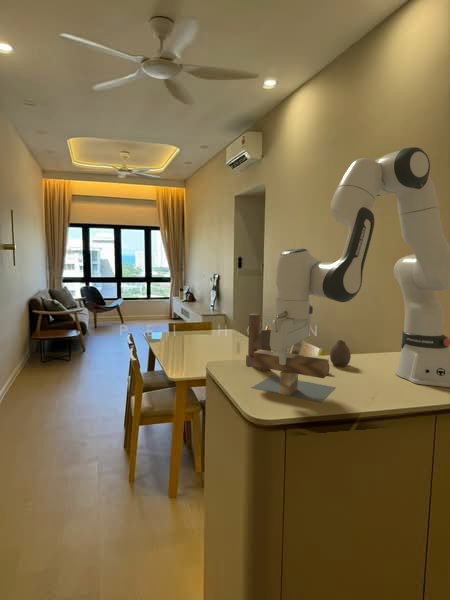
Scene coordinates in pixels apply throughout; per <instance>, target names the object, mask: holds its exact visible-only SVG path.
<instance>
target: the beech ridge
mask: <svg viewBox="0 0 450 600" xmlns="http://www.w3.org/2000/svg"><path fill="white" fill-rule="evenodd" d="M279 377H280V394H279V395H282V394H283V396H287V397H291V396H290V395H291V394H292V393H294V392H295V391H296V390H297V389H298V380H299V374H295V373H289V372H283V371H279Z"/></svg>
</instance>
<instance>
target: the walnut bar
mask: <svg viewBox="0 0 450 600" xmlns="http://www.w3.org/2000/svg"><path fill="white" fill-rule="evenodd" d="M286 357H287V358H288V360H287V364H285V365H280V364H279V356H278V353H277V351H272V350H271V351H267V350H257V351H255V352H254V354H253V366H255V367H261V368H266V369H270V370H273V371H279V372H281V371H283V372H289V373H295V374H298V375H300V376H302V375H303V376H308V377H312V378H319V379H325V378H326V377H327V376H328V375H329V372H328V364H329V365H330V361H329V359H325V358H320V357H315V356H314V357H313V356H308V355H307V356H306V355H301V354H300V355H293V353H287V352H286Z"/></svg>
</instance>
